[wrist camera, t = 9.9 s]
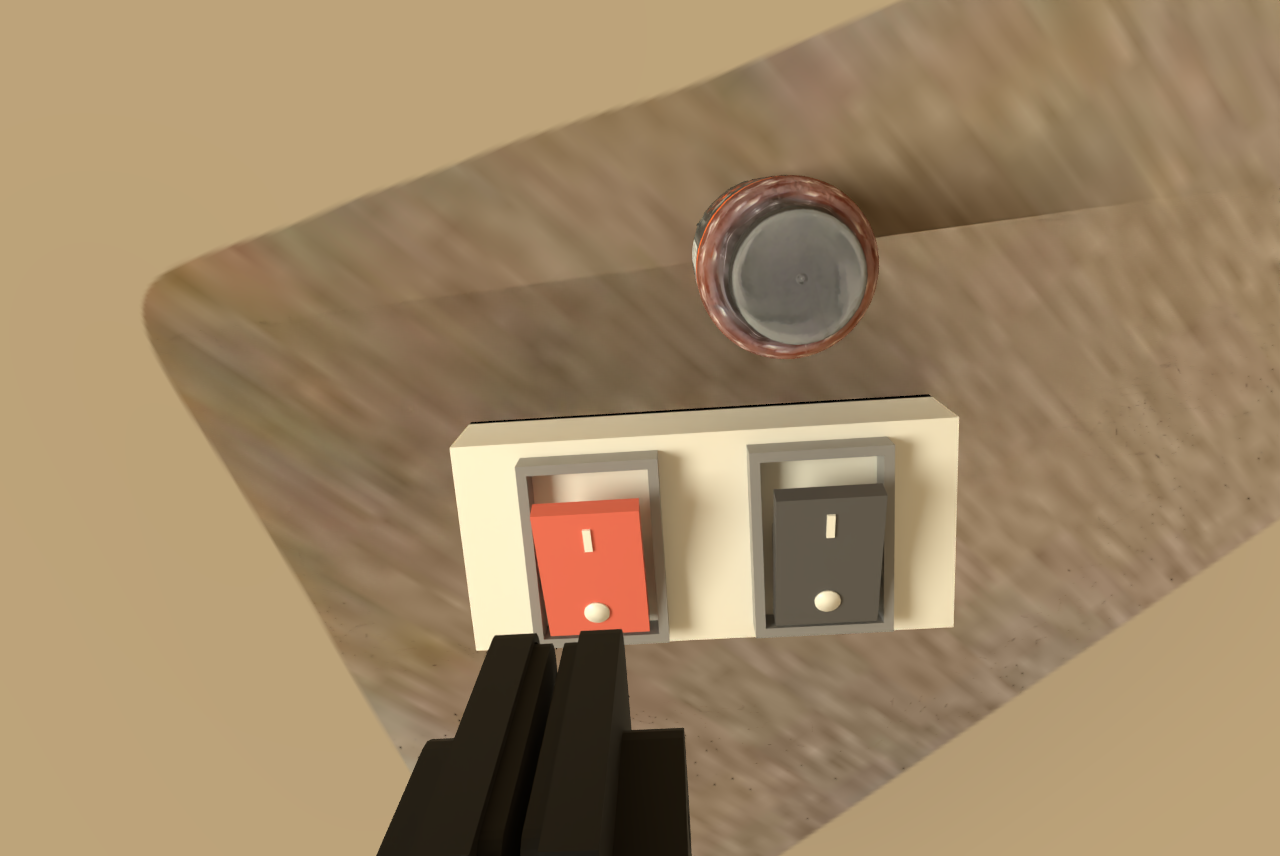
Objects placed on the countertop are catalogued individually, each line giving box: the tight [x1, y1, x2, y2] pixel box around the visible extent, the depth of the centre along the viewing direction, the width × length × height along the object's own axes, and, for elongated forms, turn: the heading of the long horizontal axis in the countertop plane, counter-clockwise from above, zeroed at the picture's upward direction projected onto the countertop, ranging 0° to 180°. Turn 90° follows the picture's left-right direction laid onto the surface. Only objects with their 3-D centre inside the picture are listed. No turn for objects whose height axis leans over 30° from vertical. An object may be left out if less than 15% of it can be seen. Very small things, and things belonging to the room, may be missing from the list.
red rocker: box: [530, 498, 650, 636], centre depth 34 cm, size 4×6×2 cm, turn 4°
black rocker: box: [772, 483, 888, 626], centre depth 34 cm, size 4×6×2 cm, turn 4°
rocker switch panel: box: [450, 394, 959, 651], centre depth 37 cm, size 20×9×5 cm, turn 94°
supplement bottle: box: [692, 175, 879, 359], centre depth 31 cm, size 6×6×11 cm
